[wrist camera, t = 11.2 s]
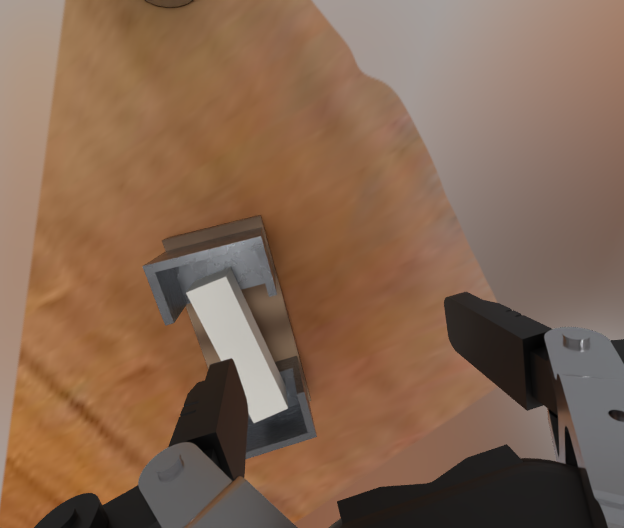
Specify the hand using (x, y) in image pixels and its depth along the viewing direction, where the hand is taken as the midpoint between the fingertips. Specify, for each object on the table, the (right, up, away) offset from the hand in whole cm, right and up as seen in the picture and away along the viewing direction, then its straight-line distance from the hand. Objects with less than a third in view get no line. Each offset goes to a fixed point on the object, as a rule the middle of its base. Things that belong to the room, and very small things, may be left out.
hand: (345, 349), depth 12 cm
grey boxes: (-10, -5, +27) cm, 29 cm away
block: (-9, -5, +24) cm, 26 cm away
